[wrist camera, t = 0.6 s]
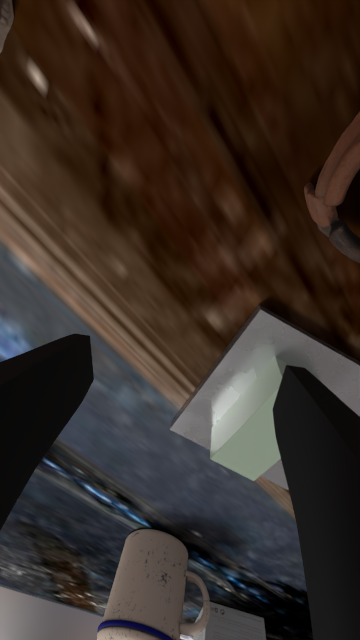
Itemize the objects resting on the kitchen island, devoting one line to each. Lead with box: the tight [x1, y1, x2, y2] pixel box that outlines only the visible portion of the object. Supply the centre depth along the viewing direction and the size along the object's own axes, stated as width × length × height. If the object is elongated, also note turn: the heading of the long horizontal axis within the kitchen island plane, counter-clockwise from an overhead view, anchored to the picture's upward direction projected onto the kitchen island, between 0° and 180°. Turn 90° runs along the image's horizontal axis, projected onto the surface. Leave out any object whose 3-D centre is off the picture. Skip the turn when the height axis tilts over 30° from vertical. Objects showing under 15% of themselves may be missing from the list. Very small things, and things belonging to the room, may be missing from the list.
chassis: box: [170, 305, 360, 490], centre depth 20 cm, size 19×14×4 cm
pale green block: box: [210, 357, 292, 481], centre depth 19 cm, size 4×9×3 cm, turn 152°
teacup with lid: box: [97, 529, 210, 640], centre depth 29 cm, size 12×9×12 cm
